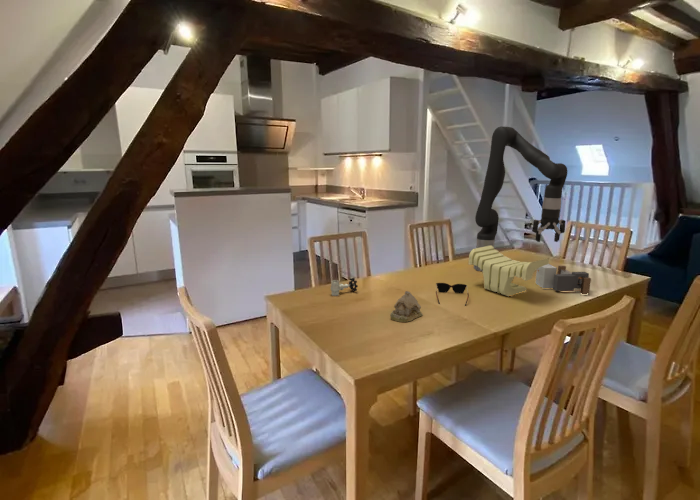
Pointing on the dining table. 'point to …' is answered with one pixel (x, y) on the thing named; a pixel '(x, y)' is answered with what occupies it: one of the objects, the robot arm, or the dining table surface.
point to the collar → (568, 281)
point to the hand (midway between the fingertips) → (546, 241)
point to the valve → (342, 286)
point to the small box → (545, 276)
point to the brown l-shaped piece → (581, 280)
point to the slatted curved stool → (502, 270)
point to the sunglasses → (456, 288)
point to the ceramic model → (406, 308)
